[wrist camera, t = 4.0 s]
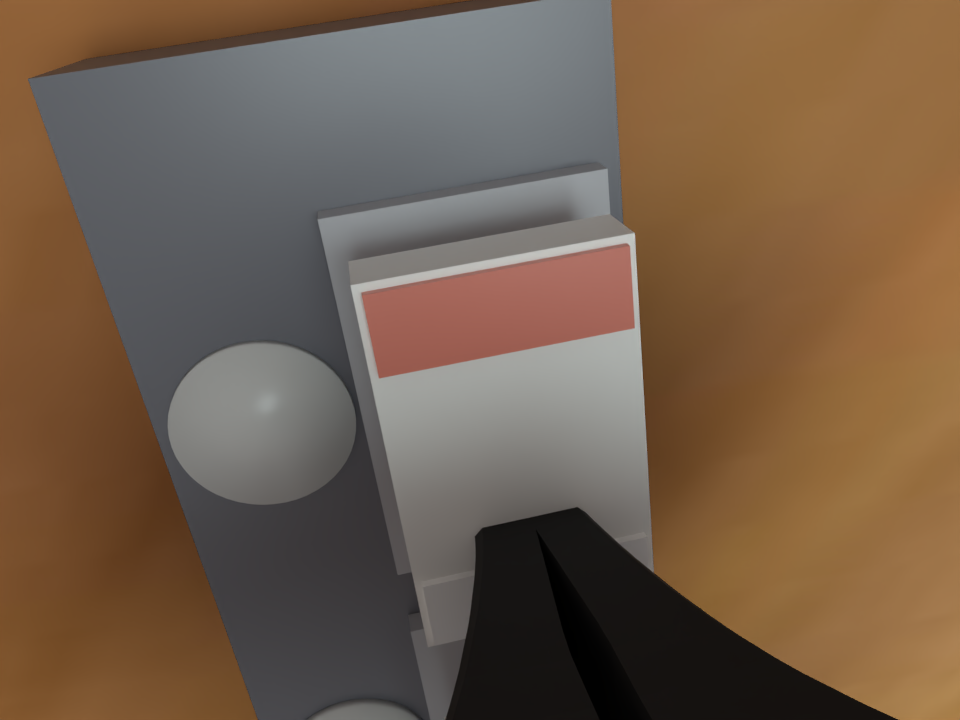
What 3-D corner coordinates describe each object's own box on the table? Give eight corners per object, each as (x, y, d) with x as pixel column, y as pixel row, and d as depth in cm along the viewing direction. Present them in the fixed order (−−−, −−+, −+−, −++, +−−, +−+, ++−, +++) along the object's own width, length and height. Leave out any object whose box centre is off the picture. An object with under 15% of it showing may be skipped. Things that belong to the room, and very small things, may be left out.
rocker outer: (633, 555, 12) (658, 600, 11) (421, 602, 12) (428, 653, 11) (609, 214, 10) (638, 235, 9) (348, 261, 10) (350, 288, 9)
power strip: (621, 789, 21) (675, 936, 17) (346, 859, 20) (351, 1026, 17) (556, -13, 12) (636, -9, 9) (85, 58, 12) (-1, 88, 9)
